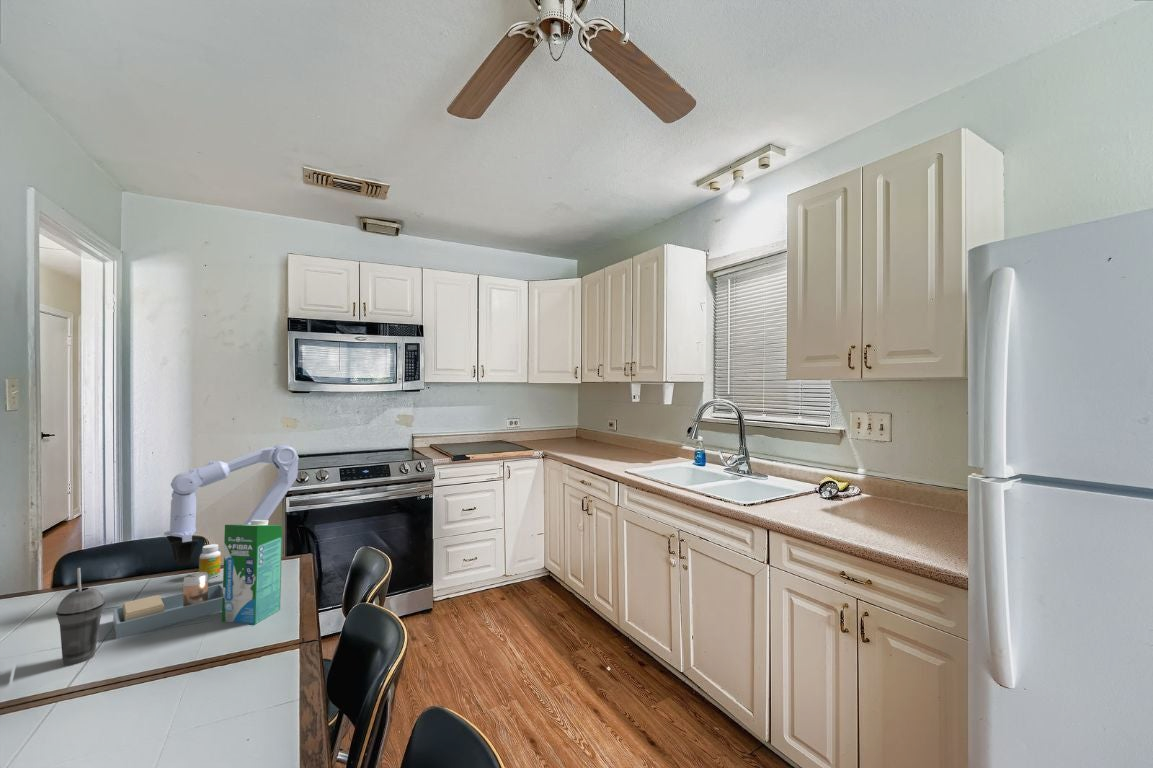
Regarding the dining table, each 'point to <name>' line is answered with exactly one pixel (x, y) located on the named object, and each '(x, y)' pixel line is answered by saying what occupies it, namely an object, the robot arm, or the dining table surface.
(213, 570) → the supplement bottle
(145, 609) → the plain tan box
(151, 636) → the dining table surface
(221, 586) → the tote
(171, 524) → the robot arm
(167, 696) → the dining table surface
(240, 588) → the milk carton
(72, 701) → the dining table surface
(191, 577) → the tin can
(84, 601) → the beverage cup
